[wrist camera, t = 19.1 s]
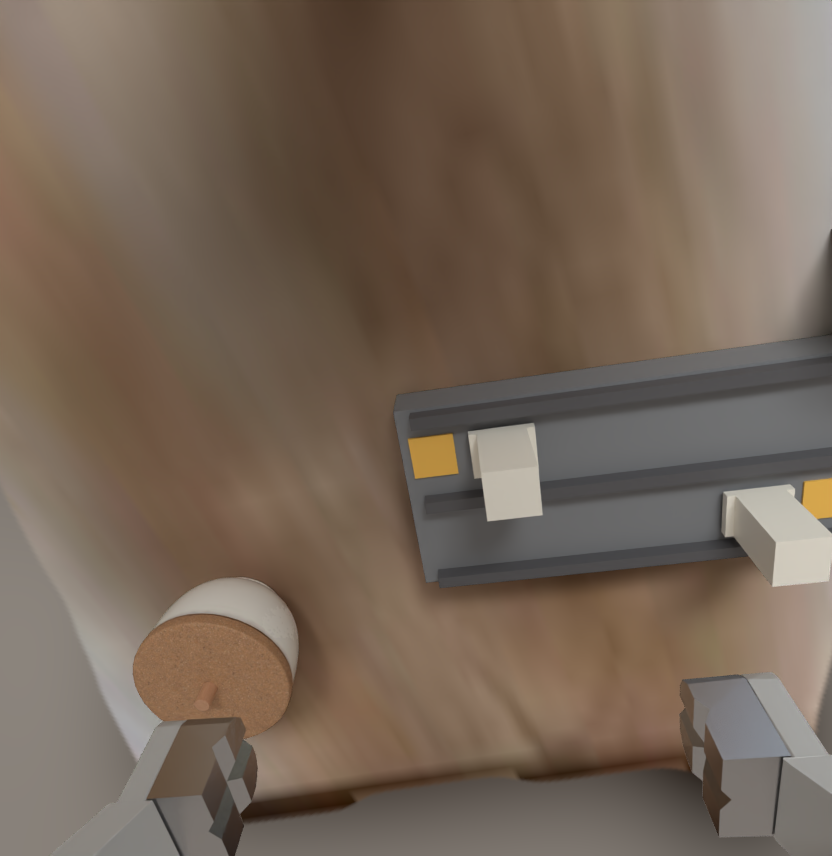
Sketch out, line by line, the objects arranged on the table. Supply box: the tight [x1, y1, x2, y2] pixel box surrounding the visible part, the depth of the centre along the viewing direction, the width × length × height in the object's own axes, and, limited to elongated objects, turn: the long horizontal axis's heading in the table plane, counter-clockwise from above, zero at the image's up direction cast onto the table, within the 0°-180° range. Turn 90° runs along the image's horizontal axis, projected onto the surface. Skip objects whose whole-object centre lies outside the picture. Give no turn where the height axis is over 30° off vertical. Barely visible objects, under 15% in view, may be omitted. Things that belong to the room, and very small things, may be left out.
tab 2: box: [721, 484, 832, 587], centre depth 36 cm, size 3×4×6 cm
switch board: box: [393, 335, 832, 588], centre depth 39 cm, size 13×28×4 cm, turn 99°
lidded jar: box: [133, 577, 299, 739], centre depth 43 cm, size 11×11×9 cm
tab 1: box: [468, 423, 543, 521], centre depth 35 cm, size 3×4×6 cm
